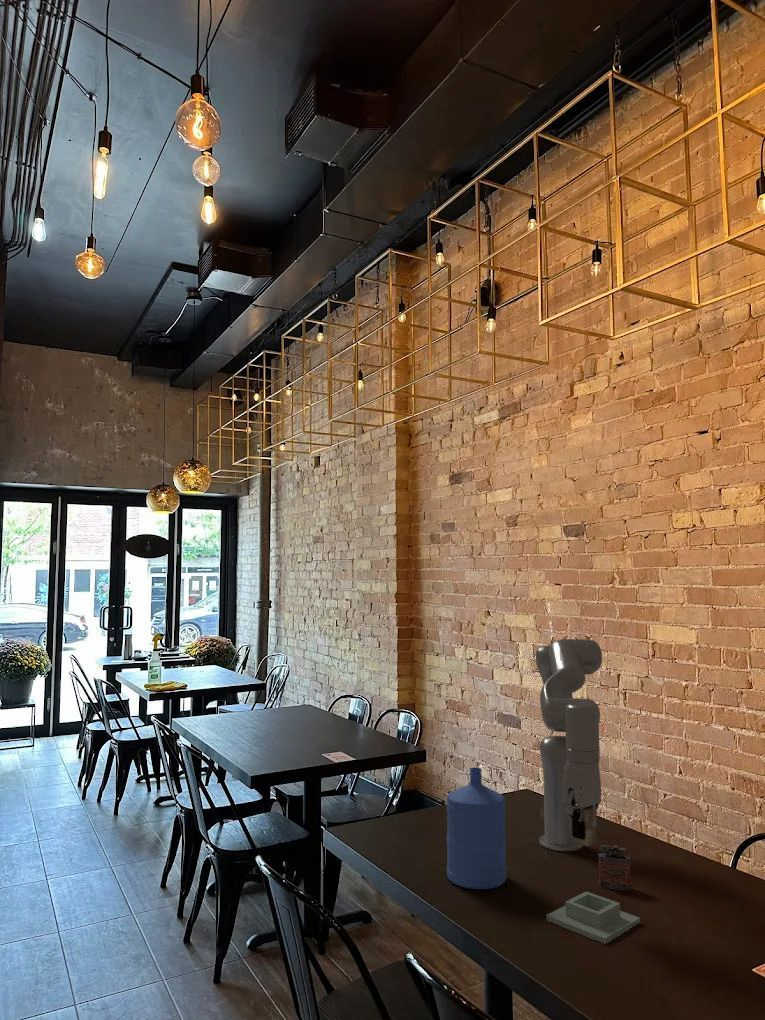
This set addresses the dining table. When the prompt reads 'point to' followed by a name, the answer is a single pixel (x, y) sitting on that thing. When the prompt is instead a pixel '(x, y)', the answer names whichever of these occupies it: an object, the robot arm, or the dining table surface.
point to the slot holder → (593, 917)
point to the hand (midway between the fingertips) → (584, 835)
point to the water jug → (476, 835)
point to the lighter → (614, 868)
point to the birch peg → (588, 827)
